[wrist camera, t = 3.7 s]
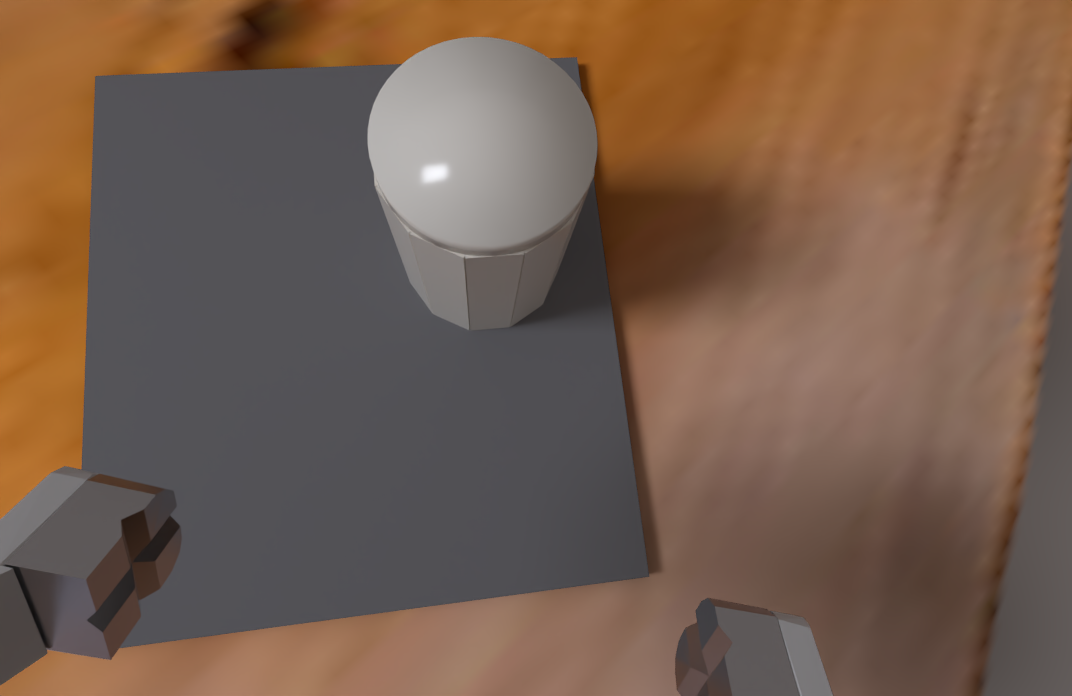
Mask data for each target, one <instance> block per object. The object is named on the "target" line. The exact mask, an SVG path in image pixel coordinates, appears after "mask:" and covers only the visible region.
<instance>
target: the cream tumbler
mask: <svg viewBox="0 0 1072 696" xmlns="http://www.w3.org/2000/svg"><path fill="white" fill-rule="evenodd" d="M368 151H369V158H370V161H371V165H372V168H373V171H374V184H375V188H376V191H377V194H378V197H379V199H380V202H381V205H382V207H383V210H384V213H385V216H386V218H387V221H388V224H389V226H390V229H391V232H392V235H393V237H394V240H395V243H396V246H397V248H398V251H399V254H400V256H401V259H402V262H403V265H404V267H405V270H406V273H407V276H408V278H409V281H410V283H411V285H412V286H413V287H414V289H415V290H416V291H417V293H418V294H419V296H420V297H421V298H422V300H423V301H424V303H425V304H426V305H427V307H428V308H429V310H430V311H431V312H432V314H434V315H436V316H438V317H440V318H443V319H445V320H447V321H449V322H452V323H454V324H456V325H458V326H460V327H463V328H465V329H467V330H470V331H472V330H484V329H495V328H507V327H510V326H513V325H514V324H516V323H517V322H519V321H520V320H521V319H523V318H524V317H526V316H527V315H529V314H530V313H532V312H533V311H535V310H536V309H537V308H539V307H540V306H542V304H543V303H544V301H545V299H546V296H547V294H548V292H549V290H550V288H551V285H552V283H553V281H554V279H555V277H556V274H557V272H558V270H559V267H560V264H561V262H562V259H563V257H564V254H565V251H566V249H567V246H568V243H569V241H570V238H571V235H572V233H573V230H574V227H575V225H576V222H577V219H578V217H579V214H580V212H581V209H582V206H583V204H584V201H585V198H586V196H587V193H588V190H589V188H590V185H591V182H592V180H593V177H594V174H595V171H594V168H595V163H596V158H597V131H596V127H595V122H594V118H593V115H592V112H591V109H590V107H589V104H588V103H587V101H586V99H585V97H584V95H583V93H582V92H581V90H580V89H579V87H578V86H577V84H576V83H575V82H574V81H573V80H572V78H571V77H570V76H569V75H568V74H567V73H566V72H565V71H564V70H563V69H562V68H561V67H559V66H558V65H557V64H556V63H555V62H553V61H552V60H550V59H549V58H547V57H546V56H544V55H543V54H541V53H539V52H537V51H535V50H533V49H531V48H529V47H526V46H524V45H521V44H518V43H515V42H511V41H507V40H503V39H497V38H489V37H469V38H459V39H454V40H450V41H445V42H442V43H439V44H436V45H433V46H431V47H429V48H427V49H425V50H423V51H421V52H419V53H417V54H416V55H414V56H413V57H411V58H409V59H408V60H407V61H405V62H404V63H403V64H402V65H401V66H400V67H398V68H397V69H396V70H395V71H394V73H393V74H392V75H391V76H390V77H389V78H388V79H387V81H386V82H385V84H384V85H383V87H382V88H381V90H380V92H379V94H378V96H377V98H376V100H375V102H374V104H373V108H372V111H371V114H370V118H369V125H368Z"/></svg>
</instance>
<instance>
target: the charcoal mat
mask: <svg viewBox="0 0 1072 696" xmlns="http://www.w3.org/2000/svg"><path fill="white" fill-rule="evenodd" d="M550 60H552V61H553V62H555V63H556V64H557V65H558V66H559V67H561V68H562V69H563V70H564V71H565V72H566V73H567V74H568V75H569V76H570V77H571V78H572V80H573V81H574V82H575V83H576V84H577V86H578V87H579V89H580V90H581V84H580V77H579V70H578V63H577V57H576V58H550ZM401 65H402V64H395V65H369V66H343V67H317V68H291V69H266V70H240V71H214V72H188V73H162V74H136V75H110V76H95V103H94V131H93V160H92V189H91V218H90V246H89V275H88V304H87V332H86V361H85V390H84V418H83V447H82V470H85V471H90V472H95V473H99V474H103V475H108V476H112V477H116V478H121V479H125V480H130V481H134V482H138V483H143V484H147V485H152V486H156V487H160V488H165V489H169V490H173V491H174V494H175V498H176V503H177V507H176V508H175V509H174V511H173V512H172V513H171V515H170V516H171V517H172V518H173V519H174V520H175V521H176V522H177V523H178V524H179V525H180V526H181V534H182V541H181V548H180V553H179V555H178V558H177V560H176V563H175V565H174V567H173V570H172V572H171V573H170V575H169V576H168V578H167V579H166V581H165V582H164V584H163V585H162V587H161V588H160V589H159V590H157V591H155V592H154V593H152V594H150V595H148V596H147V597H145V598H143V599H141V600H140V606H141V617H140V619H139V620H138V622H137V623H136V625H135V626H134V627H133V629H132V630H131V632H130V633H129V635H128V636H127V637H126V639H125V640H124V642H123V643H122V645H121V646H120V647H119V648H124V647H131V646H139V645H146V644H153V643H161V642H168V641H176V640H183V639H190V638H198V637H205V636H213V635H220V634H227V633H235V632H242V631H250V630H257V629H264V628H272V627H279V626H287V625H294V624H302V623H309V622H316V621H324V620H331V619H339V618H346V617H353V616H361V615H368V614H376V613H383V612H390V611H398V610H405V609H413V608H420V607H427V606H435V605H442V604H450V603H457V602H464V601H472V600H479V599H487V598H494V597H501V596H509V595H516V594H524V593H531V592H538V591H546V590H553V589H561V588H568V587H576V586H583V585H590V584H598V583H605V582H613V581H620V580H627V579H635V578H642V577H649V572H648V564H647V557H646V550H645V543H644V536H643V529H642V521H641V514H640V507H639V500H638V493H637V485H636V478H635V471H634V464H633V457H632V450H631V442H630V435H629V428H628V421H627V414H626V407H625V399H624V392H623V385H622V378H621V371H620V364H619V356H618V349H617V342H616V335H615V328H614V321H613V313H612V306H611V299H610V292H609V285H608V278H607V270H606V263H605V256H604V249H603V242H602V235H601V227H600V220H599V213H598V206H597V199H596V192H595V184H594V177H593V180H592V182H591V185H590V188H589V190H588V193H587V196H586V198H585V201H584V204H583V206H582V209H581V212H580V214H579V217H578V219H577V222H576V225H575V227H574V230H573V233H572V235H571V238H570V241H569V243H568V246H567V249H566V251H565V254H564V257H563V259H562V262H561V264H560V267H559V270H558V272H557V274H556V277H555V279H554V281H553V283H552V285H551V288H550V290H549V292H548V294H547V296H546V299H545V301H544V303H543V304H542V306H540V307H539V308H537V309H536V310H535V311H533V312H532V313H530V314H529V315H527V316H526V317H524V318H523V319H521V320H520V321H519V322H517V323H516V324H514V325H513V326H510V327H507V328H495V329H484V330H472V331H470V330H467V329H465V328H463V327H460V326H458V325H456V324H454V323H452V322H449V321H447V320H445V319H443V318H440V317H438V316H436V315H434V314H432V312H431V311H430V310H429V308H428V307H427V305H426V304H425V303H424V301H423V300H422V298H421V297H420V296H419V294H418V293H417V291H416V290H415V289H414V287H413V286H412V285H411V283H410V281H409V278H408V276H407V273H406V270H405V267H404V265H403V262H402V259H401V256H400V254H399V251H398V248H397V246H396V243H395V240H394V237H393V235H392V232H391V229H390V226H389V224H388V221H387V218H386V216H385V213H384V210H383V207H382V205H381V202H380V199H379V197H378V194H377V191H376V188H375V184H374V171H373V168H372V165H371V161H370V158H369V151H368V125H369V118H370V114H371V111H372V108H373V104H374V102H375V100H376V98H377V96H378V94H379V92H380V90H381V88H382V87H383V85H384V84H385V82H386V81H387V79H388V78H389V77H390V76H391V75H392V74H393V73H394V71H395V70H396V69H397V68H398V67H400V66H401ZM581 92H582V91H581Z"/></svg>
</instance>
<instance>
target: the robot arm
mask: <svg viewBox="0 0 1072 696" xmlns="http://www.w3.org/2000/svg"><path fill="white" fill-rule="evenodd" d="M176 507H177V503H176V498H175V494H174V491H173V490H169V489H165V488H160V487H156V486H152V485H147V484H143V483H138V482H134V481H130V480H125V479H121V478H116V477H112V476H108V475H103V474H99V473H95V472H90V471H85V470H80V469H76V468H71V467H66V466H64V467H62V468H60V469H58V470H56V471H54V472H52V473H50V474H49V475H48V476H47V477H46V478H44V479H43V480H42V481H41V482H40V483H39V484H38V485H37V486H36V487H35V488H34V489H33V490H32V491H31V492H29V493H28V494H27V495H26V496H25V497H24V498H23V499H22V500H21V501H20V502H19V503H18V504H17V505H15V506H14V507H13V508H12V509H11V510H10V511H9V512H8V513H7V514H6V515H5V516H4V517H3V518H2V519H0V685H2V684H3V683H5V682H6V681H8V680H9V679H10V678H12V677H13V676H15V675H16V674H18V673H19V672H21V671H22V670H24V669H25V668H27V667H28V666H30V665H31V664H33V663H34V662H36V661H37V660H39V659H40V658H42V657H43V656H45V655H46V654H47V650H53V651H59V652H65V653H71V654H77V655H84V656H90V657H96V658H102V659H109V660H111V659H112V658H113V656H114V655H115V653H116V652H117V650H118V649H119V647H120V646H121V645H122V643H123V642H124V640H125V639H126V637H127V636H128V635H129V633H130V632H131V630H132V629H133V627H134V626H135V625H136V623H137V622H138V620H139V619H140V617H141V606H140V600H141V599H143V598H145V597H147V596H148V595H150V594H152V593H154V592H155V591H157V590H159V589H160V588H161V587H162V585H163V584H164V582H165V581H166V579H167V578H168V576H169V575H170V573H171V572H172V570H173V567H174V565H175V563H176V560H177V558H178V555H179V553H180V548H181V541H182V534H181V526H180V525H179V524H178V523H177V522H176V521H175V520H174V519H173V518H172V517H171V516H170V515H171V513H172V512H173V511H174V509H175V508H176ZM696 617H697V623H695V624H693V625H690V626H688V627H686V628H685V630H684V632H683V634H682V636H681V638H680V640H679V643H678V648H677V653H676V658H675V675H676V685H677V691H678V692H679V694H680V695H681V696H833V693H832V690H831V687H830V685H829V682H828V679H827V676H826V673H825V670H824V667H823V664H822V661H821V658H820V655H819V652H818V649H817V646H816V643H815V640H814V637H813V634H812V631H811V629H810V626H809V624H808V623H807V621H806V620H805V619H804V618H803V617H800V616H796V615H791V614H785V613H780V612H775V611H769V610H768V609H764V608H759V607H754V606H748V605H743V604H738V603H732V602H727V601H722V600H716V599H711V598H707V599H705V600H703V601H701V603H700V605H699V606H698V608H697V609H696Z"/></svg>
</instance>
